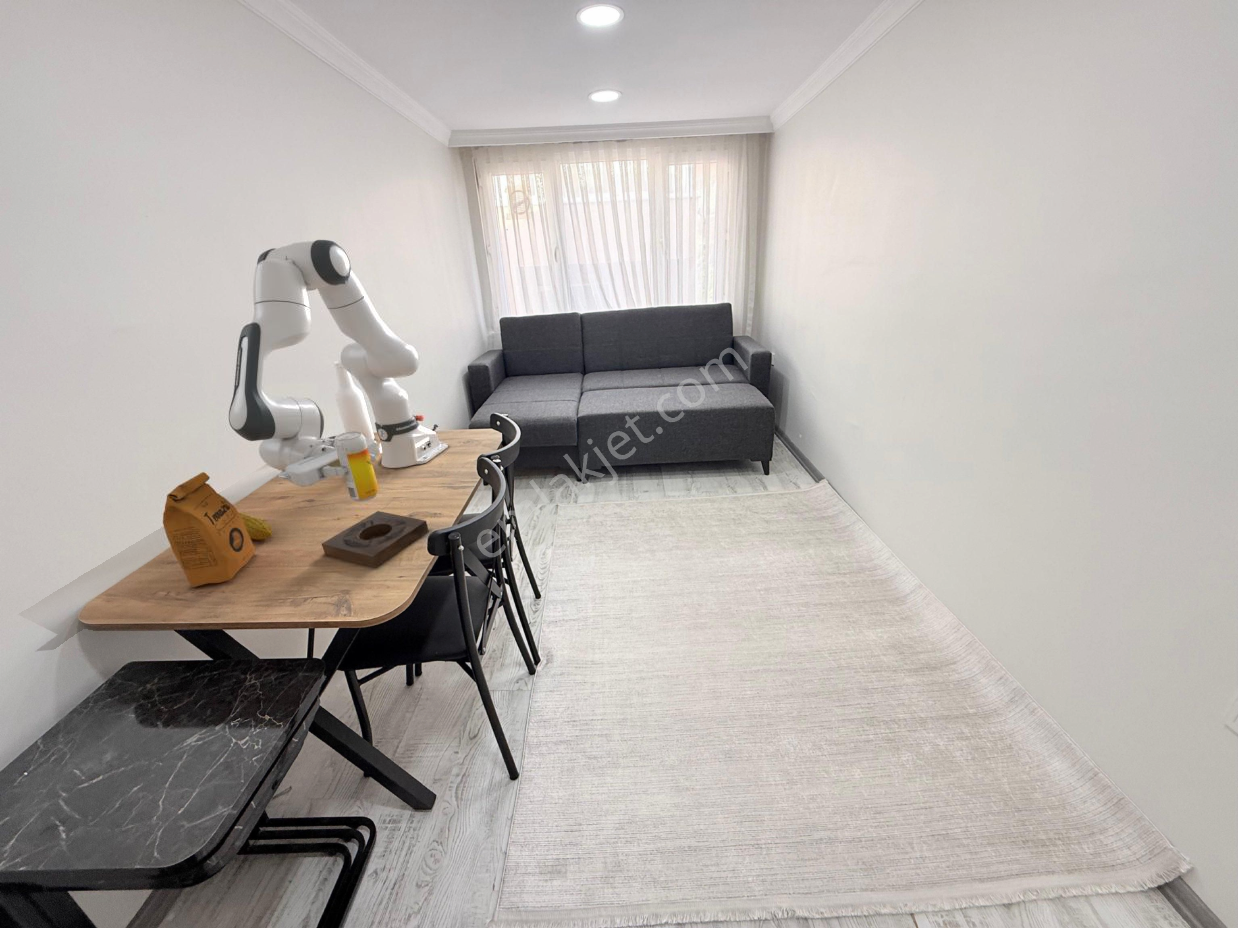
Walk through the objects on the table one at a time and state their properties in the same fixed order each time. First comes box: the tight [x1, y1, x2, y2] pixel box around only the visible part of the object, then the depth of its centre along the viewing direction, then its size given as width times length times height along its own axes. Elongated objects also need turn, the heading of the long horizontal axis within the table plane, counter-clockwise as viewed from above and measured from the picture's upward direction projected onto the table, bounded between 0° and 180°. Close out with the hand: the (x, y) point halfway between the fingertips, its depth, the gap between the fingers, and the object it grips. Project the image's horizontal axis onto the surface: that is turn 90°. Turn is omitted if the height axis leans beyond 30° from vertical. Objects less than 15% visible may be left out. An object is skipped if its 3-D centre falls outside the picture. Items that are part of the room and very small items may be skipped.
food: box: [239, 512, 273, 541], centre depth 122 cm, size 21×6×6 cm, turn 69°
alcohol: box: [333, 360, 376, 440], centre depth 177 cm, size 9×9×30 cm
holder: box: [321, 510, 429, 569], centre depth 116 cm, size 16×16×3 cm
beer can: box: [334, 431, 380, 502], centre depth 110 cm, size 6×6×15 cm
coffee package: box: [162, 471, 256, 588], centre depth 105 cm, size 10×12×22 cm
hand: (359, 465), depth 110 cm, fingers closed on beer can, 6 cm apart
